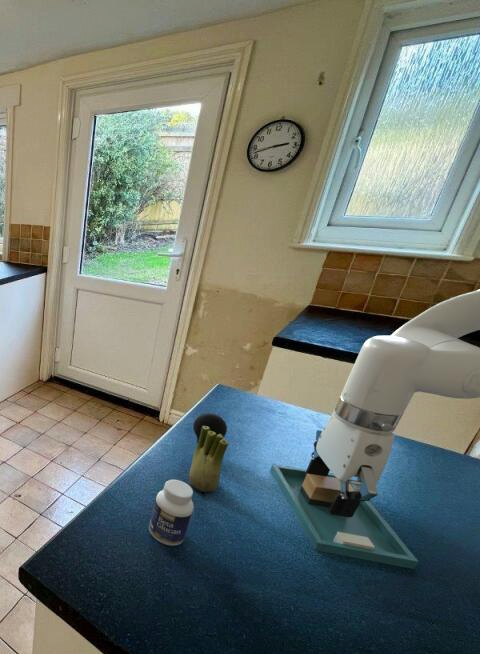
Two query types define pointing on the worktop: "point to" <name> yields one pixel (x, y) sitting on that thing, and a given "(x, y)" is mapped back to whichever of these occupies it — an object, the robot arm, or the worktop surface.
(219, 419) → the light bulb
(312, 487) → the eraser
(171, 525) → the pill bottle
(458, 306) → the robot arm
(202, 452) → the fennel bulb
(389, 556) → the tray
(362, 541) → the chalk
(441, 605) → the worktop surface
